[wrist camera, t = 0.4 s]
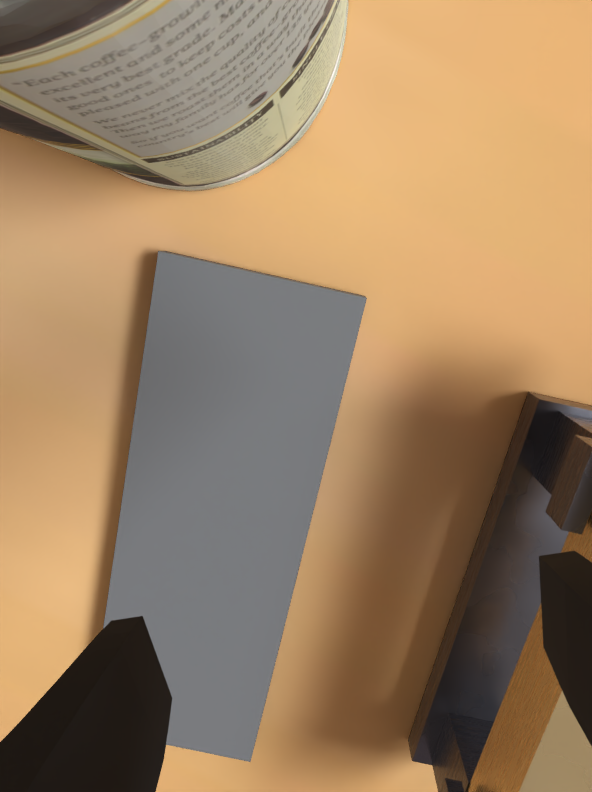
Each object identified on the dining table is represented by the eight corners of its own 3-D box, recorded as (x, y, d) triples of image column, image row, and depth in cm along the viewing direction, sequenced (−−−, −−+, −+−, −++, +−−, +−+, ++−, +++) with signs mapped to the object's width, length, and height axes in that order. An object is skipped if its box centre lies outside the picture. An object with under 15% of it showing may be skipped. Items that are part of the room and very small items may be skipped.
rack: (499, 758, 24) (547, 892, 19) (405, 739, 24) (429, 868, 19) (639, 416, 20) (747, 472, 15) (525, 391, 19) (596, 439, 15)
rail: (505, 872, 20) (532, 964, 18) (434, 858, 20) (451, 948, 18) (706, 415, 15) (785, 449, 13) (614, 394, 15) (675, 424, 13)
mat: (252, 745, 24) (250, 761, 23) (95, 713, 24) (88, 728, 23) (364, 296, 19) (366, 298, 18) (165, 250, 19) (158, 251, 18)
